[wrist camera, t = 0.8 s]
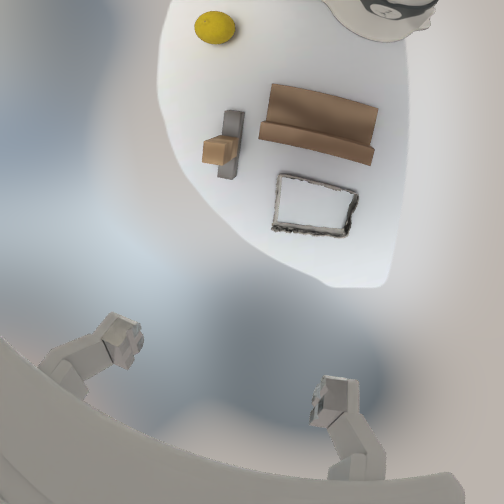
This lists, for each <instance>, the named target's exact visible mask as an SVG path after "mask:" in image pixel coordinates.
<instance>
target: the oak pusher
mask: <svg viewBox="0 0 504 504" xmlns="http://www.w3.org/2000/svg"><path fill="white" fill-rule="evenodd" d="M244 114H245V112H240V111H232V110H227V111H225V113H224V121H223V129H222V135H219V136H217V137H214V138H211V139H209V140H206V141H204V145H203V156H202V162H203V163H209V164H215V165H219V166H218V176H217V177H220V178H225V179H230V180H232V179H233V178H235V177H236V174H237V166H238V158H239V151H240V143H241V136H242V128H243V121H244Z"/></svg>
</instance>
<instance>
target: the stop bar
mask: <svg viewBox="0 0 504 504" xmlns="http://www.w3.org/2000/svg"><path fill="white" fill-rule="evenodd" d="M377 113H378V108H375V107H371V106H368V105H365V104H362V103H358V102H355V101H352V100H348V99H344V98H341V97H337V96H333V95H329V94H324V93H320V92H316V91H311V90H306V89H301V88H296V87H290V86H284V85H278V84H272V87H271V93H270V99H269V105H268V111H267V118H266V121H263V122H261V125H260V132H259V138H258V139H261V140H266V141H272V142H277V143H282V144H287V145H291V146H296V147H301V148H305V149H309V150H313V151H318V152H322V153H326V154H330V155H333V156H337V157H341V158H344V159H348V160H351V161H355V162H358V163H362V164H365V165H368V166H371V162H372V158H373V154H374V150H375V149H374V148H372V147H371V146H370V143H371V139H372V135H373V131H374V126H375V122H376V117H377Z"/></svg>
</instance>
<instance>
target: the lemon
mask: <svg viewBox="0 0 504 504" xmlns="http://www.w3.org/2000/svg"><path fill="white" fill-rule="evenodd" d="M195 32H196V34H197V36H198V37H199V38H200V39H201V40H203V41H204V42H206V43H209V44H221V43H224V42H226V41H228V40H229V39H230V38H231V37H232V36H233V34H234V32H235V23H234V21H233V20H232V18H231V17H230V16H228V15H227V14H225V13H223V12H218V11H210V12H206V13H204V14H202V15H201V16H200V17H199V18H198V19H197V20H196V22H195Z"/></svg>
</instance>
